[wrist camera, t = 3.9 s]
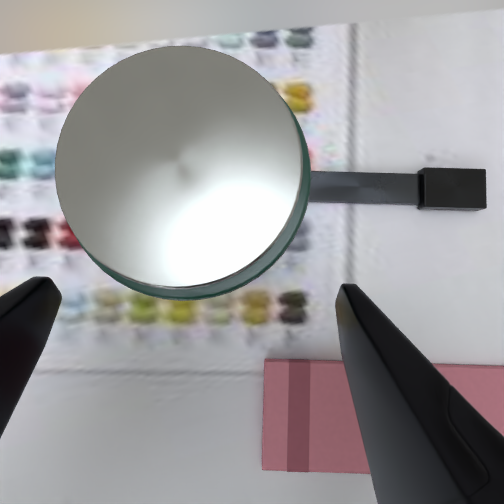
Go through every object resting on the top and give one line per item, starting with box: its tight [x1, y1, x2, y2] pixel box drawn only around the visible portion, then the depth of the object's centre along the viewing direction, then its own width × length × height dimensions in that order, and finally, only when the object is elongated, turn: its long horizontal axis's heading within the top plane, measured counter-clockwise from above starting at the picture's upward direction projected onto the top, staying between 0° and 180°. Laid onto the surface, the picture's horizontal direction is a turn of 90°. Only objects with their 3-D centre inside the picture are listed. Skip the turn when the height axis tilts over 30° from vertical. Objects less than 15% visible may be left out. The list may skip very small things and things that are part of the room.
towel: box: [262, 359, 504, 474], centre depth 18 cm, size 7×16×1 cm, turn 88°
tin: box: [55, 46, 311, 301], centre depth 12 cm, size 6×6×13 cm
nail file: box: [308, 168, 487, 211], centre depth 19 cm, size 3×12×1 cm, turn 88°
